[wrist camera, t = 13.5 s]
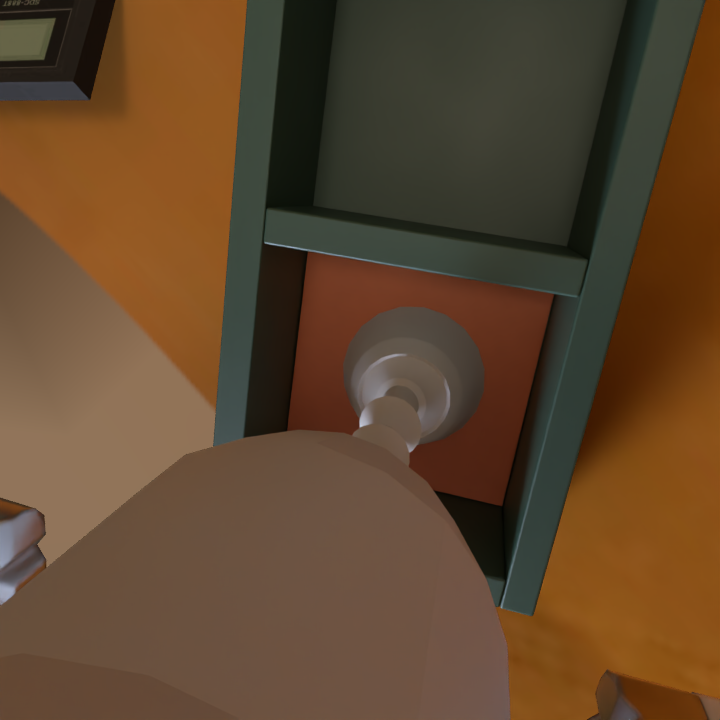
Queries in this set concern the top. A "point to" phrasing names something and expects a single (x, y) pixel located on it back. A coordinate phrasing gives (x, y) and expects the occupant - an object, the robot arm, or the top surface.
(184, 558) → the chalice
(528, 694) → the top surface
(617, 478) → the top surface
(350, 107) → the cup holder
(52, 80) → the calculator
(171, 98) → the top surface
